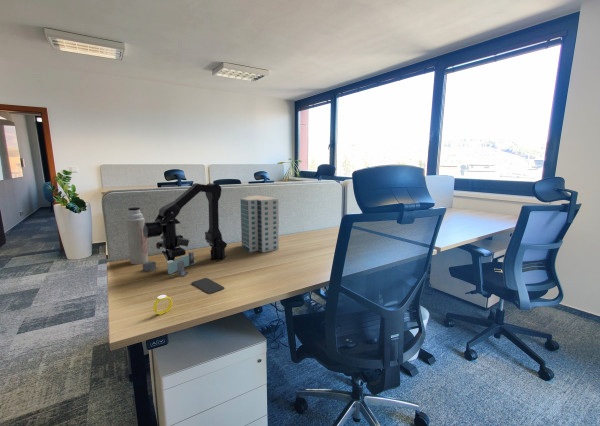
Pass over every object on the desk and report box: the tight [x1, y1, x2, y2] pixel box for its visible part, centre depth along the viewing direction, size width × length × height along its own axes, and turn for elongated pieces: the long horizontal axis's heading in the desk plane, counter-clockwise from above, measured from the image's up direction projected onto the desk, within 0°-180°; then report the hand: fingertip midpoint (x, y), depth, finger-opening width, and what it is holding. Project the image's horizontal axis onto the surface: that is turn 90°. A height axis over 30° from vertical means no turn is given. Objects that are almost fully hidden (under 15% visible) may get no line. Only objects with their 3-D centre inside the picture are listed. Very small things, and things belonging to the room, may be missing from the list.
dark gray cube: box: [142, 260, 157, 272], centre depth 135 cm, size 4×4×4 cm
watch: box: [152, 294, 173, 316], centre depth 96 cm, size 6×3×6 cm, turn 146°
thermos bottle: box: [125, 206, 149, 265], centre depth 144 cm, size 8×8×28 cm
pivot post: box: [187, 251, 197, 266], centre depth 143 cm, size 4×4×6 cm
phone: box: [191, 277, 226, 295], centre depth 118 cm, size 7×1×15 cm
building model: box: [239, 195, 280, 253], centre depth 169 cm, size 20×16×30 cm
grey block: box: [176, 261, 189, 277], centre depth 129 cm, size 3×4×6 cm
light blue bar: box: [166, 254, 190, 275], centre depth 135 cm, size 2×12×6 cm, turn 160°
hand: (171, 265), depth 134 cm, fingers closed
